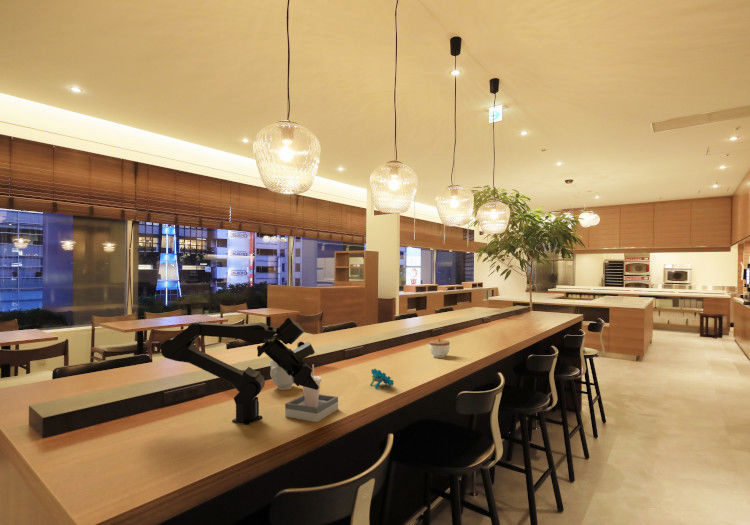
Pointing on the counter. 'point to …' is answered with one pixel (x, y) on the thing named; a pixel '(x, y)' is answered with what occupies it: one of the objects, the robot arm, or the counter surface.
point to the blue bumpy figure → (380, 378)
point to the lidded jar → (439, 348)
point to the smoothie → (312, 392)
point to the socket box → (311, 408)
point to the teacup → (280, 377)
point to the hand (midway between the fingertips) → (315, 385)
